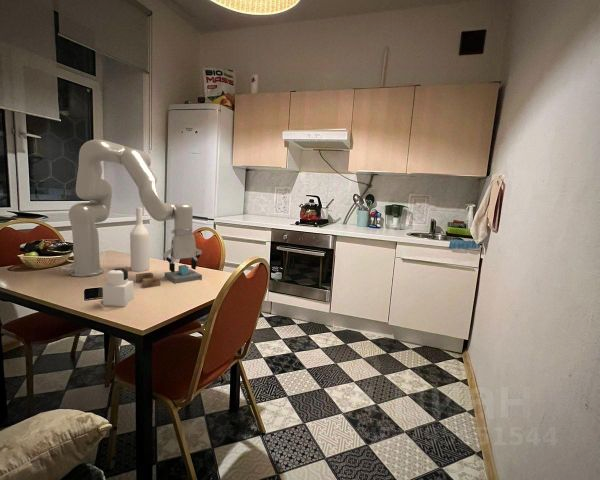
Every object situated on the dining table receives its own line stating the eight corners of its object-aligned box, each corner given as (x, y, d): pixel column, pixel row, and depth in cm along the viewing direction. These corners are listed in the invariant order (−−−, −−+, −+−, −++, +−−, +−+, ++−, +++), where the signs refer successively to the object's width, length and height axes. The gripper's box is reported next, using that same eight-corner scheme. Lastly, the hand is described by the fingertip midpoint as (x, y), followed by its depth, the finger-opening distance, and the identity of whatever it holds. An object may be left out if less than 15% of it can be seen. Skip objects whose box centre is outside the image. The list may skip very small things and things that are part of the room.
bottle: (131, 272, 148) (129, 208, 144) (130, 267, 155) (129, 206, 151) (150, 270, 152) (149, 208, 148) (148, 266, 159) (148, 207, 155)
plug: (181, 280, 140) (181, 267, 139) (178, 278, 143) (178, 265, 142) (188, 279, 142) (188, 266, 141) (185, 277, 145) (185, 264, 144)
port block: (175, 284, 134) (175, 278, 133) (164, 277, 142) (164, 272, 142) (201, 280, 142) (201, 274, 142) (190, 274, 151) (190, 269, 150)
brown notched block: (145, 289, 126) (144, 280, 125) (136, 282, 134) (135, 274, 133) (160, 286, 130) (160, 278, 129) (150, 280, 138) (150, 272, 137)
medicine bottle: (113, 299, 113) (112, 266, 112) (133, 299, 114) (133, 267, 112) (102, 306, 106) (101, 271, 105) (124, 307, 107) (123, 272, 105)
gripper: (166, 234, 130) (166, 274, 133) (205, 232, 142) (205, 269, 145) (159, 232, 136) (160, 270, 138) (197, 230, 148) (197, 266, 150)
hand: (183, 270), depth 142 cm, fingers open, 9 cm apart
